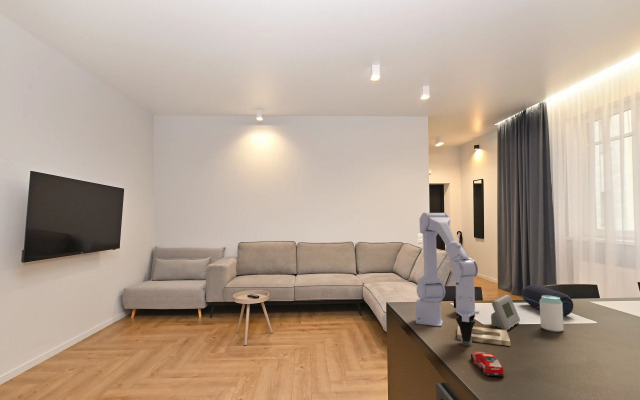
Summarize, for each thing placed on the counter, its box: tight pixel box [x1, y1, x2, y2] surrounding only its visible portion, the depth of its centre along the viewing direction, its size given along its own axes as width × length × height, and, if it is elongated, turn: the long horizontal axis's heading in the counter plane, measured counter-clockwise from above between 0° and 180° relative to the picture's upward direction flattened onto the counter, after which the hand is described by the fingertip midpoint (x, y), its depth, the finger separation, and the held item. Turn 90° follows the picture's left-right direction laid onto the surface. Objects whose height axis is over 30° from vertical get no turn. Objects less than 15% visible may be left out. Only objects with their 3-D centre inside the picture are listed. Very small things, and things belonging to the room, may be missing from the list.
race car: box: [470, 351, 505, 377], centre depth 94 cm, size 13×5×4 cm, turn 173°
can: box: [539, 296, 565, 333], centre depth 126 cm, size 7×7×12 cm
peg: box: [460, 333, 473, 347], centre depth 111 cm, size 3×3×8 cm
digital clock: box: [490, 294, 521, 331], centre depth 132 cm, size 16×9×11 cm, turn 123°
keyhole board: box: [456, 324, 511, 347], centre depth 118 cm, size 16×12×2 cm
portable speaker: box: [521, 284, 574, 317], centre depth 153 cm, size 25×10×10 cm, turn 0°
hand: (466, 338), depth 111 cm, fingers open, 5 cm apart
